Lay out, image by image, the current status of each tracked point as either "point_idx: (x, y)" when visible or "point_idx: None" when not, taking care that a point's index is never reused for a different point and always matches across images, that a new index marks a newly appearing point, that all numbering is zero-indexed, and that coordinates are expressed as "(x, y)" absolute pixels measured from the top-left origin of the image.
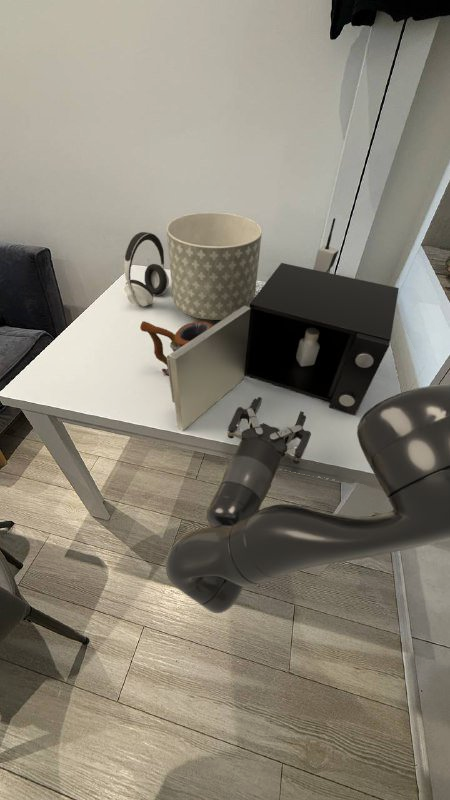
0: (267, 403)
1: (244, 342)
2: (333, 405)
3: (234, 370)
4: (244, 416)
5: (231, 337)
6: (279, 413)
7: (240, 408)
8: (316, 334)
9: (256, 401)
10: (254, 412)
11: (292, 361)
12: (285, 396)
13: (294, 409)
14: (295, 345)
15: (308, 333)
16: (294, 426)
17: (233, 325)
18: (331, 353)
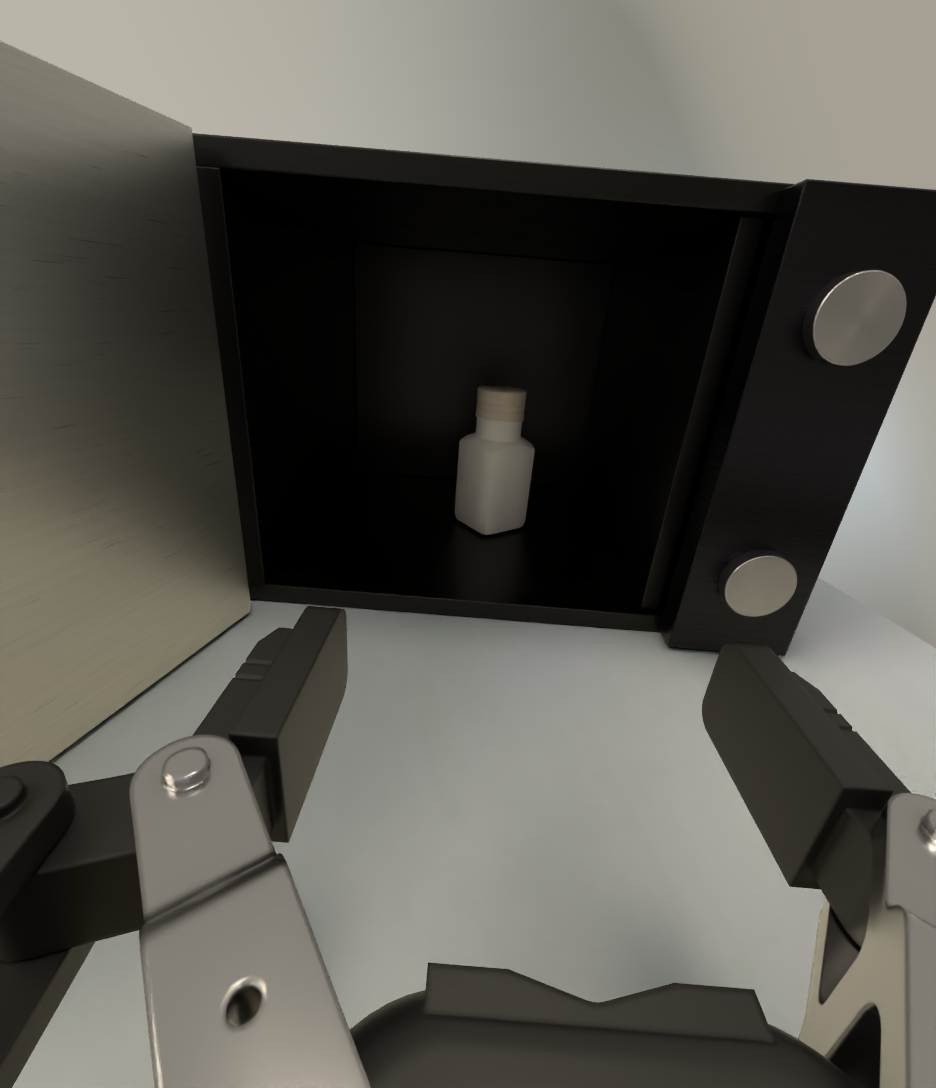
0: (390, 697)
1: (199, 371)
2: (689, 633)
3: (163, 543)
4: (101, 903)
5: (42, 233)
6: (472, 735)
7: (5, 785)
8: (520, 392)
9: (288, 645)
10: (273, 783)
11: (447, 528)
12: (468, 645)
13: (537, 694)
14: (439, 494)
15: (491, 391)
16: (891, 839)
17: (31, 116)
18: (554, 500)
